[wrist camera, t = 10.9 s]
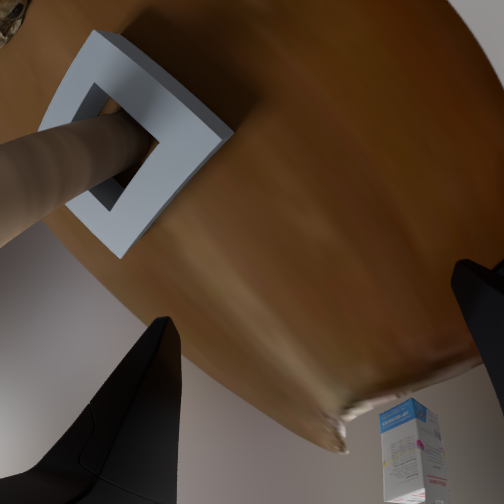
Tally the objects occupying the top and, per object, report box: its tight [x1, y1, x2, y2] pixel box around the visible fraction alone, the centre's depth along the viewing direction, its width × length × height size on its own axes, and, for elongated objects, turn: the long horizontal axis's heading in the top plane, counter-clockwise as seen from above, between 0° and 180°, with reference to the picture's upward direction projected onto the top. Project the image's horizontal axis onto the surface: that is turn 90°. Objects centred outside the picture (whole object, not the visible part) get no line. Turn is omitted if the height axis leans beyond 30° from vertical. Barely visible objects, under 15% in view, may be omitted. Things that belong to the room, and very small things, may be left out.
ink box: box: [379, 398, 450, 504], centre depth 23 cm, size 8×5×15 cm, turn 51°
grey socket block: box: [38, 30, 234, 259], centre depth 17 cm, size 11×11×3 cm
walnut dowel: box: [0, 111, 150, 248], centre depth 13 cm, size 4×4×13 cm
